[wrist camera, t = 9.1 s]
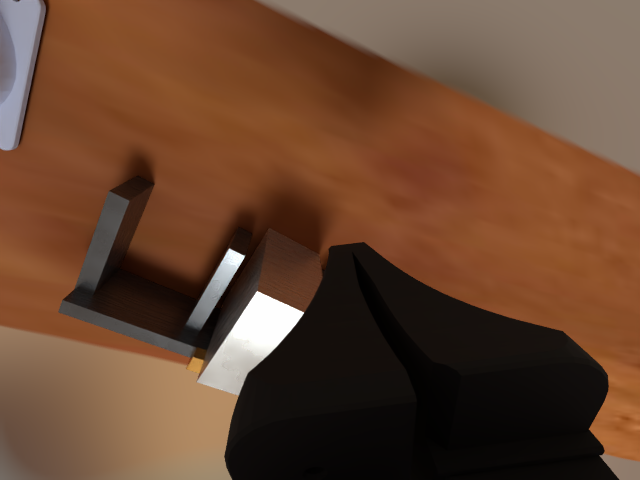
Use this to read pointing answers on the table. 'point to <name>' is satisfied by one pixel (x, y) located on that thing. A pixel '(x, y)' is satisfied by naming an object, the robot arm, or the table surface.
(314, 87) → the table surface
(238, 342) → the grey block
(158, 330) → the rack
